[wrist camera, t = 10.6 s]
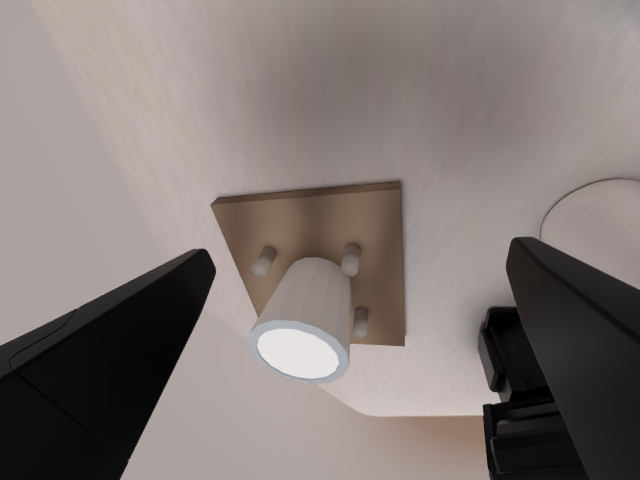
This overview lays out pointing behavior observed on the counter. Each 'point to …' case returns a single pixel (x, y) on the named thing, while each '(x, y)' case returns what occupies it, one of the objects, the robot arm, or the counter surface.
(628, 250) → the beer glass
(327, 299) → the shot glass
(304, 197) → the pin board
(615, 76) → the counter surface
